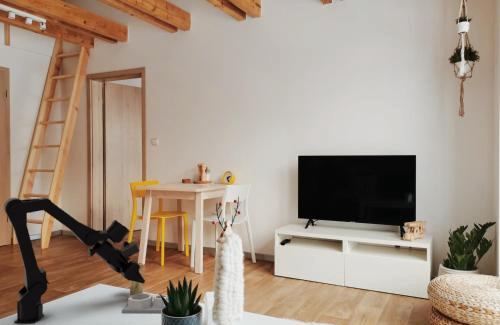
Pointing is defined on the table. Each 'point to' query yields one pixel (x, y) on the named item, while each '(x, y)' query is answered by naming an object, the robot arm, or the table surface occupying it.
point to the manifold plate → (144, 303)
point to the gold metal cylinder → (137, 283)
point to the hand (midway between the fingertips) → (139, 279)
